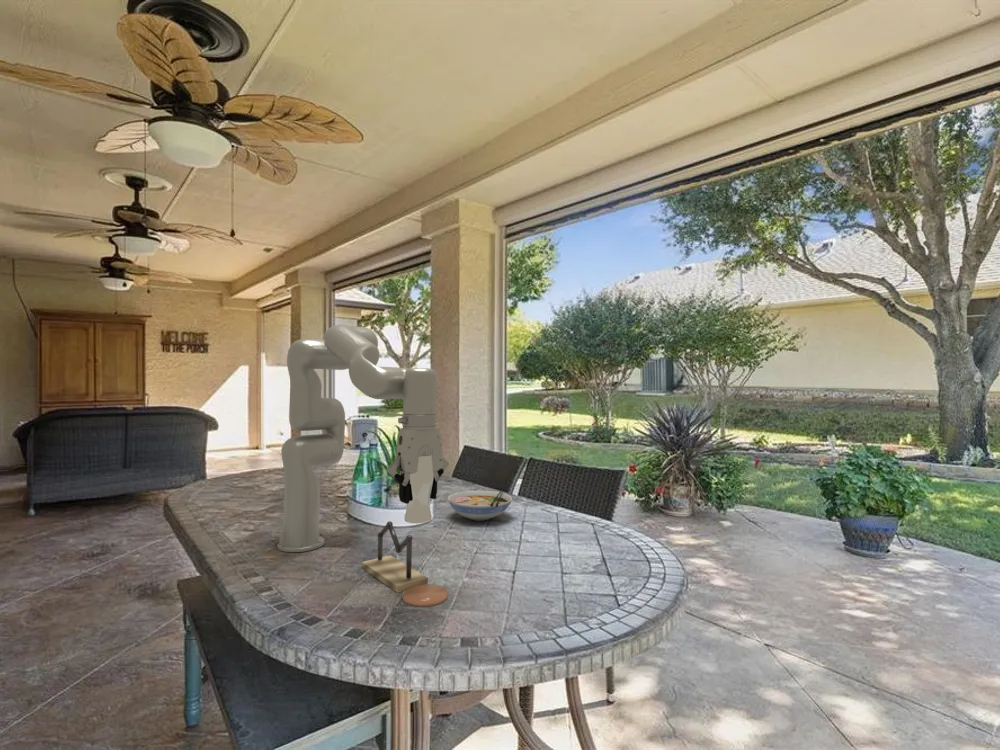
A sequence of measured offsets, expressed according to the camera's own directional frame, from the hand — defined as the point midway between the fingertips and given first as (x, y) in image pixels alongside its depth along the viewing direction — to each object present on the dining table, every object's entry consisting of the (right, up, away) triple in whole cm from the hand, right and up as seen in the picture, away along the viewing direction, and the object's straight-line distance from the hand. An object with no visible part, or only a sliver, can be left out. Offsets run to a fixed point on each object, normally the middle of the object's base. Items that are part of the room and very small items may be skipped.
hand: (418, 499), depth 114 cm
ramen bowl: (+12, -22, +61) cm, 66 cm away
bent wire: (-7, -19, +8) cm, 22 cm away
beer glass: (0, -5, 0) cm, 5 cm away
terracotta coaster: (+2, -21, -3) cm, 21 cm away
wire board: (-7, -21, +8) cm, 24 cm away
